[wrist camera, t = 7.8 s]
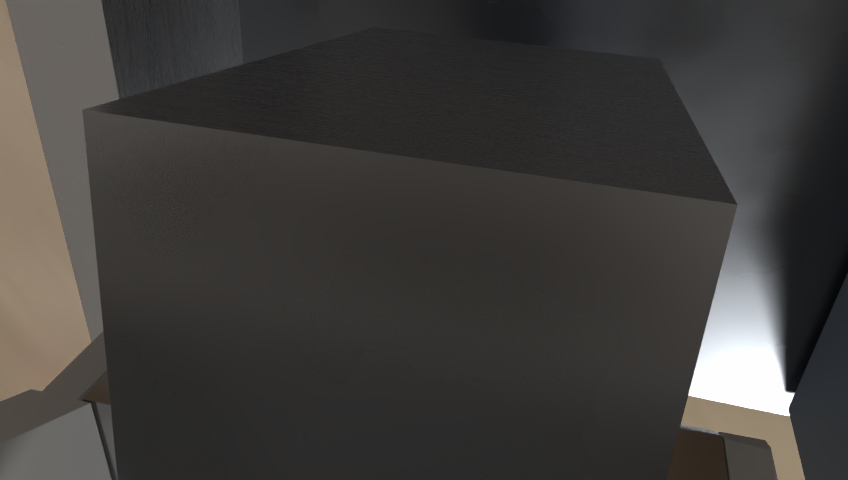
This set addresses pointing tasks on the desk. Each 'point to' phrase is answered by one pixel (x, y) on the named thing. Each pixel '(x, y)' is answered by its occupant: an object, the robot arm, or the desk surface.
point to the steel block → (404, 264)
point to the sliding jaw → (825, 400)
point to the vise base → (544, 26)
